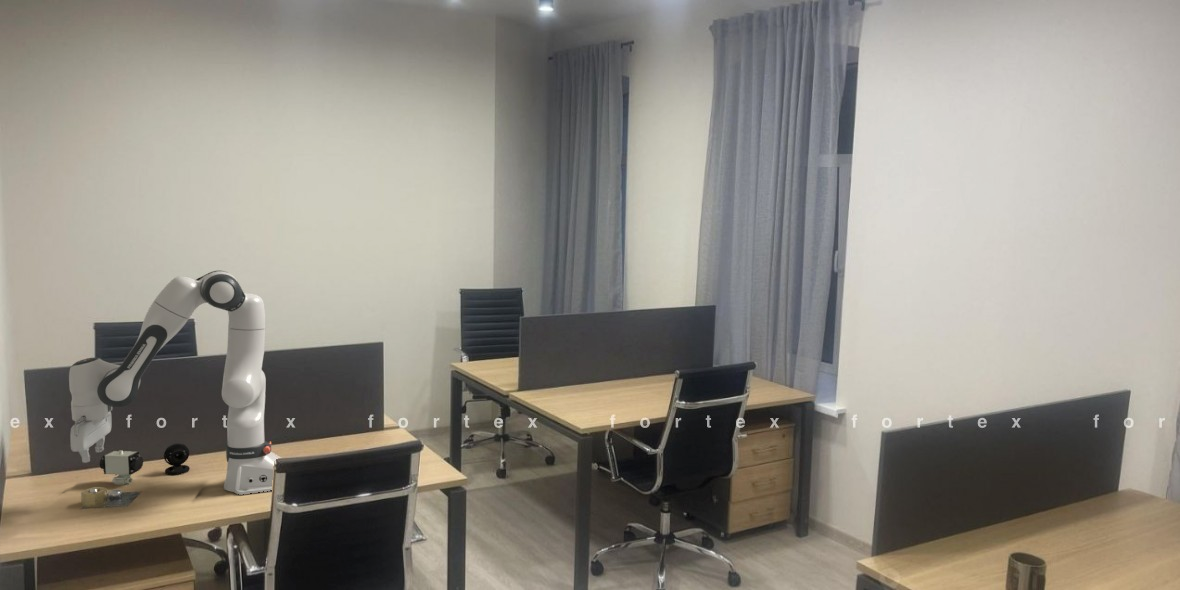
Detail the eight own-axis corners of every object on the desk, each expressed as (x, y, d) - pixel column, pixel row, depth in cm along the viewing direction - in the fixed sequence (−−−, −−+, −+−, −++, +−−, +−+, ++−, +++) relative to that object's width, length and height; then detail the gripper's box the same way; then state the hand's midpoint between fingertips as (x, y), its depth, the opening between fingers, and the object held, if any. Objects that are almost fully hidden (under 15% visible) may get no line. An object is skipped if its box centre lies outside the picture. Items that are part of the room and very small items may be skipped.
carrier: (142, 494, 239) (141, 478, 238) (127, 509, 227) (127, 492, 227) (96, 497, 236) (95, 480, 235) (79, 512, 224) (78, 494, 224)
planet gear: (109, 498, 232) (109, 486, 232) (101, 506, 227) (101, 493, 226) (87, 500, 231) (87, 487, 231) (79, 507, 225) (78, 494, 225)
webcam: (166, 477, 255) (165, 448, 253) (162, 471, 260) (161, 442, 259) (192, 472, 259) (191, 444, 258) (187, 466, 265) (186, 439, 264)
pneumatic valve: (135, 489, 243) (134, 453, 242) (100, 487, 244) (98, 452, 242) (146, 482, 249) (144, 447, 248) (111, 481, 249) (109, 446, 248)
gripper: (86, 421, 216) (90, 467, 218) (114, 402, 236) (117, 445, 238) (61, 422, 215) (66, 469, 217) (91, 404, 235) (95, 447, 236)
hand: (93, 456), depth 227 cm, fingers open, 8 cm apart
